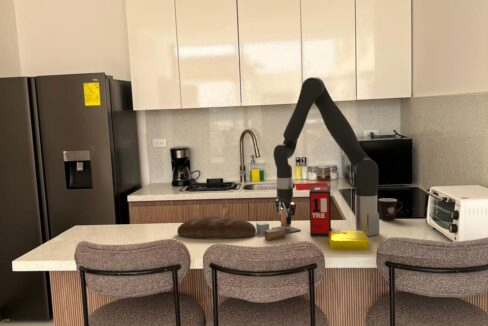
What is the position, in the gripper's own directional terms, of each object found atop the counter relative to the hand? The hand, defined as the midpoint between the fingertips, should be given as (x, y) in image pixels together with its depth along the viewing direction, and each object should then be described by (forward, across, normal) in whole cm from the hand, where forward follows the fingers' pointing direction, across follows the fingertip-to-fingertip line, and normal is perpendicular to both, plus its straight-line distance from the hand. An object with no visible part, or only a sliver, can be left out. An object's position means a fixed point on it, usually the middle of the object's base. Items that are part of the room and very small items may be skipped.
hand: (285, 223), depth 193 cm
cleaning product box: (+4, +12, +11) cm, 17 cm away
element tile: (+4, +34, +7) cm, 35 cm away
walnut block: (+4, +9, -12) cm, 15 cm away
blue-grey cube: (+3, -3, -11) cm, 12 cm away
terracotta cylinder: (+1, 0, 0) cm, 1 cm away
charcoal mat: (+3, 0, 0) cm, 3 cm away
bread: (+4, -12, -30) cm, 33 cm away
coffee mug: (+3, +15, +53) cm, 55 cm away
